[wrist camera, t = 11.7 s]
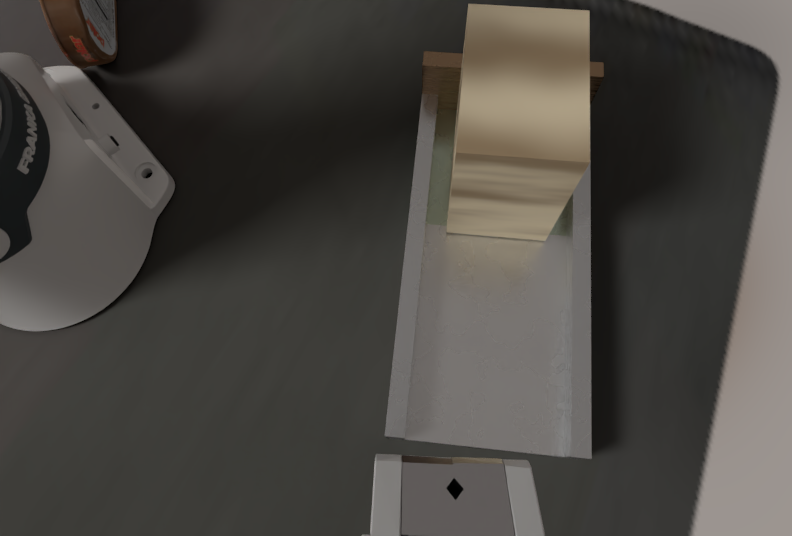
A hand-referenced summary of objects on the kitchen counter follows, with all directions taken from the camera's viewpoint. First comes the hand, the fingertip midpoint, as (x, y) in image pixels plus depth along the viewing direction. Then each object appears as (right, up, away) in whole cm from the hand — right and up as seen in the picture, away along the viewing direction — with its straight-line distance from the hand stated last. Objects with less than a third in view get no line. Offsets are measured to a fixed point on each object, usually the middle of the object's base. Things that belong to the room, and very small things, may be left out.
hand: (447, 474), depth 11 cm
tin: (-26, +26, +39) cm, 54 cm away
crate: (+7, +11, +31) cm, 33 cm away
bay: (+6, +5, +30) cm, 31 cm away
